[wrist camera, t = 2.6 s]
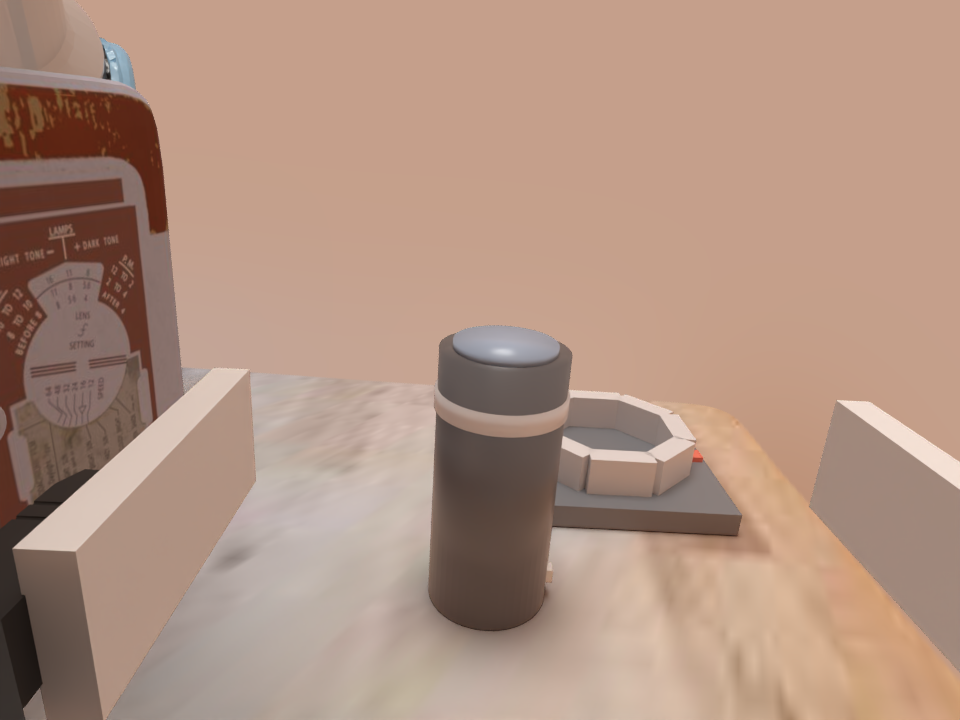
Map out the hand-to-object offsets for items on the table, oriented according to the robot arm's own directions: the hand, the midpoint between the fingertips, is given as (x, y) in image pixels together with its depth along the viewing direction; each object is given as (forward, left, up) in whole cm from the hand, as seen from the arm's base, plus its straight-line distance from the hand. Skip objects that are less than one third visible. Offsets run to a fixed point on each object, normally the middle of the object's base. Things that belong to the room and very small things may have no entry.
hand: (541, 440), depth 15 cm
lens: (0, +10, -12) cm, 16 cm away
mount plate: (+7, +21, -12) cm, 25 cm away
